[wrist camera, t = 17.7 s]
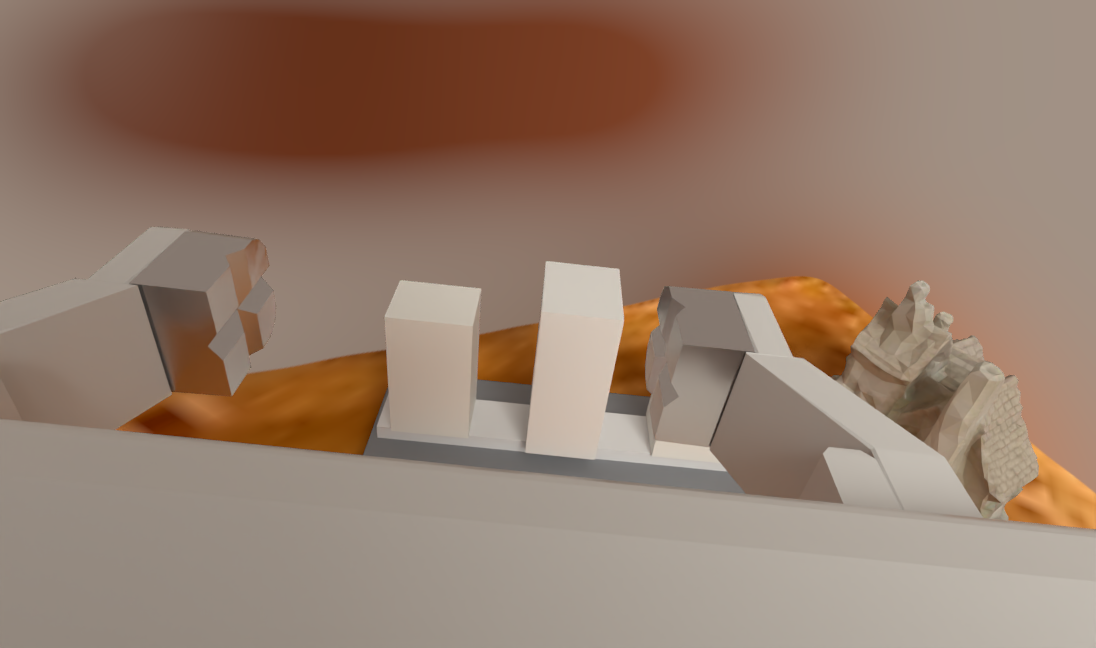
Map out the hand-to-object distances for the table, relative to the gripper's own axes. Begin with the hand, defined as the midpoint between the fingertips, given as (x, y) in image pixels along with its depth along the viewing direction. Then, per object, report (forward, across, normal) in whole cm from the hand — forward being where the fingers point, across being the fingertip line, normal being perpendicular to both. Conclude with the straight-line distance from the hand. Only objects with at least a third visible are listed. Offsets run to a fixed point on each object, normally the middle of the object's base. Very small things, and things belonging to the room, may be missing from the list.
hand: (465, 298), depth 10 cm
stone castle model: (+25, -31, +27) cm, 48 cm away
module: (+22, -4, +25) cm, 34 cm away
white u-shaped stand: (+22, -4, +27) cm, 36 cm away
